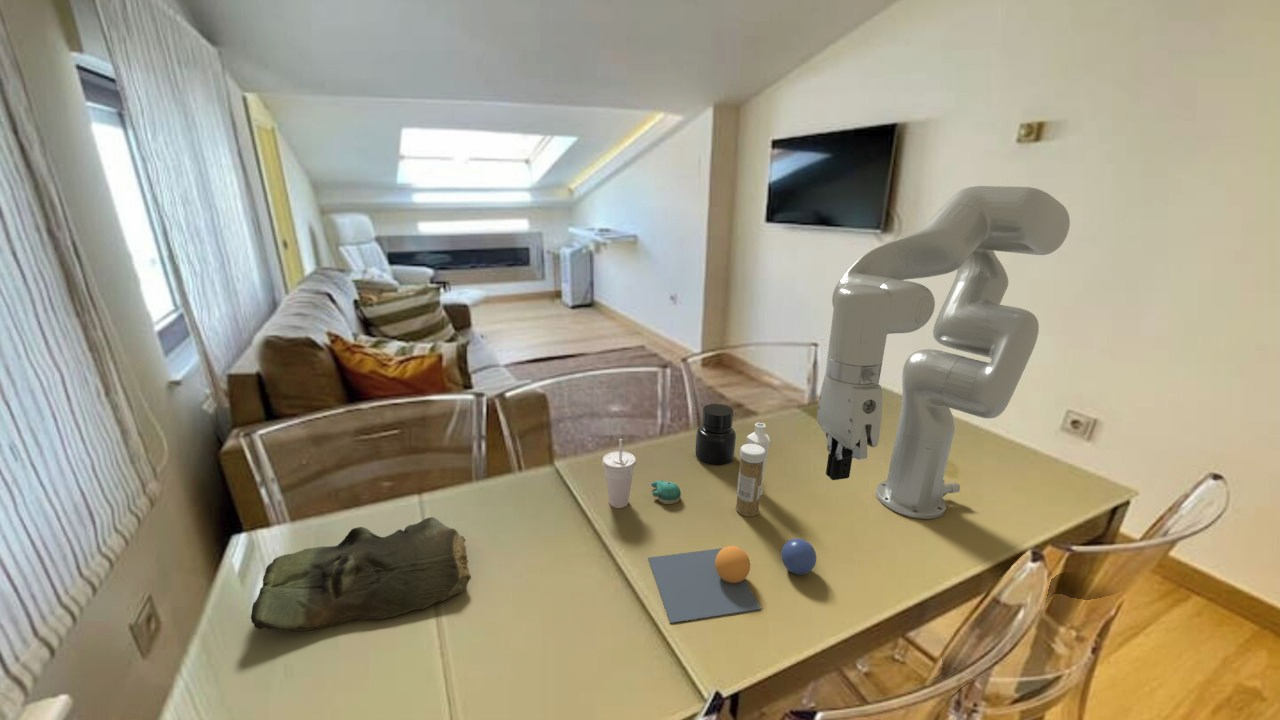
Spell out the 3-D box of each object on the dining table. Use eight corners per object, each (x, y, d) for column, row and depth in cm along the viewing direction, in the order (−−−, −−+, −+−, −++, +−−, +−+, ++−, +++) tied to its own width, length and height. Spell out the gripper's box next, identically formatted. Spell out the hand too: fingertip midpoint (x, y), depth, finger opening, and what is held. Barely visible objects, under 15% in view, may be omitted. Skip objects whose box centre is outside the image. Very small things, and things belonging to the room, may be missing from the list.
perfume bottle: (739, 494, 107) (746, 427, 102) (744, 483, 111) (750, 418, 106) (762, 499, 106) (770, 432, 101) (766, 488, 109) (773, 423, 105)
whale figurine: (660, 509, 102) (661, 492, 101) (643, 490, 108) (644, 474, 107) (686, 502, 104) (687, 485, 103) (668, 484, 110) (669, 468, 109)
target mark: (726, 548, 91) (726, 547, 91) (760, 609, 78) (761, 608, 78) (648, 558, 88) (648, 557, 88) (670, 623, 75) (670, 622, 75)
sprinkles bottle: (763, 512, 101) (770, 450, 97) (746, 520, 99) (753, 456, 95) (746, 500, 105) (753, 440, 101) (729, 507, 102) (735, 446, 98)
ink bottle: (729, 447, 126) (733, 401, 122) (740, 465, 118) (745, 417, 114) (689, 448, 125) (692, 402, 121) (698, 467, 117) (701, 418, 113)
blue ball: (782, 529, 86) (770, 557, 88) (799, 552, 81) (786, 581, 83) (809, 533, 88) (797, 560, 90) (828, 555, 83) (815, 583, 84)
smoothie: (610, 515, 99) (611, 449, 95) (597, 497, 105) (597, 434, 100) (640, 506, 102) (642, 442, 98) (626, 490, 107) (627, 428, 103)
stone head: (472, 590, 77) (242, 627, 67) (471, 625, 81) (254, 666, 71) (466, 495, 92) (279, 514, 82) (466, 529, 96) (288, 551, 87)
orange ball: (732, 532, 85) (704, 551, 85) (746, 555, 80) (716, 575, 80) (747, 554, 87) (719, 572, 87) (761, 577, 82) (732, 596, 82)
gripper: (909, 386, 72) (888, 500, 78) (846, 351, 85) (832, 451, 92) (861, 391, 70) (843, 507, 76) (804, 355, 84) (793, 456, 90)
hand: (837, 476), depth 84 cm, fingers closed
